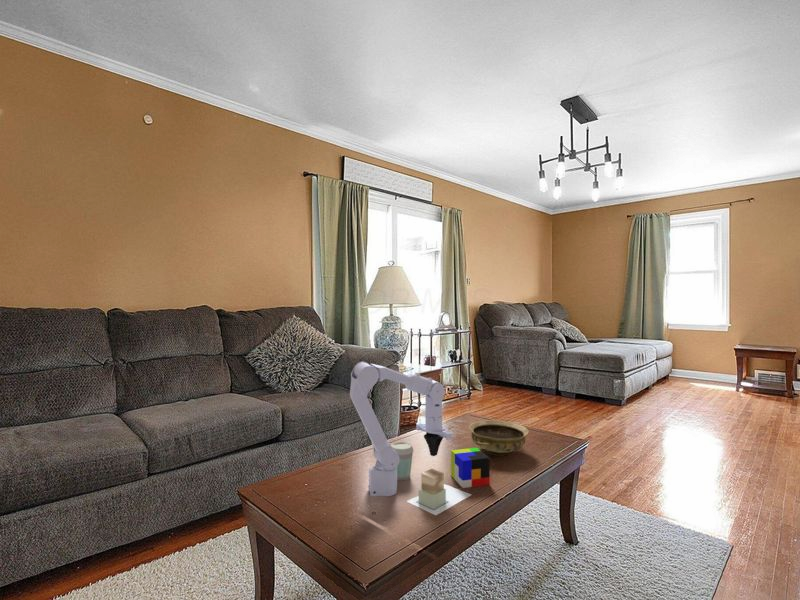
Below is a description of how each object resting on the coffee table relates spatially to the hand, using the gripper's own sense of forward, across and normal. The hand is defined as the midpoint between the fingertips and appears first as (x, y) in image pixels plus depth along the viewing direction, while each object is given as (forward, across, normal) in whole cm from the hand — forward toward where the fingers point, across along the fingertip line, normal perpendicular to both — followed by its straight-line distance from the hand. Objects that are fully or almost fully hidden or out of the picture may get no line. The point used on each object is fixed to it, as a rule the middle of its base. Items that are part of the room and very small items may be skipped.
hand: (433, 455), depth 147 cm
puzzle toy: (+11, -8, -11) cm, 17 cm away
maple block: (+6, -8, +10) cm, 15 cm away
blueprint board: (+10, -8, +7) cm, 15 cm away
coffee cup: (+11, +12, +4) cm, 16 cm away
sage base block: (+10, -8, +11) cm, 17 cm away
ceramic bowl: (+11, +1, -42) cm, 43 cm away
